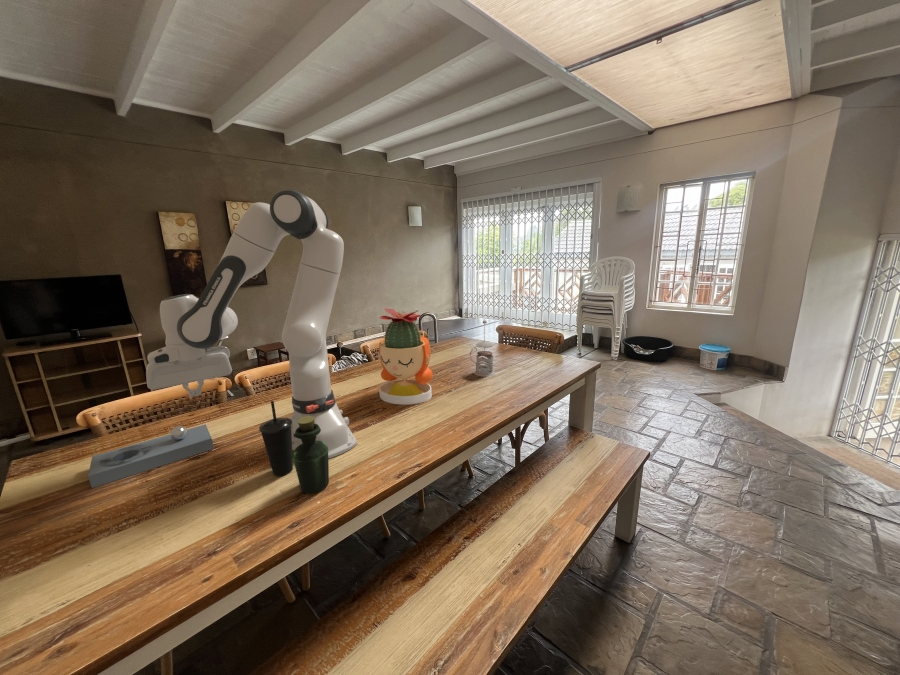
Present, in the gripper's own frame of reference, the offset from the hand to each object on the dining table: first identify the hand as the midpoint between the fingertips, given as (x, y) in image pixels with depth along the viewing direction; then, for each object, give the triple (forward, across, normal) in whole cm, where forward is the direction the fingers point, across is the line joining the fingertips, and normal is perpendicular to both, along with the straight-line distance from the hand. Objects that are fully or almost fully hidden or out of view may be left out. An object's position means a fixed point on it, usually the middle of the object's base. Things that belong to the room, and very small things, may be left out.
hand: (195, 395), depth 104 cm
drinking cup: (+15, -14, +32) cm, 38 cm away
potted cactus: (+15, -68, +12) cm, 70 cm away
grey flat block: (+16, +11, 0) cm, 20 cm away
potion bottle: (+15, -18, +44) cm, 50 cm away
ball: (+10, +6, 0) cm, 12 cm away
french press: (+14, -107, +17) cm, 109 cm away
